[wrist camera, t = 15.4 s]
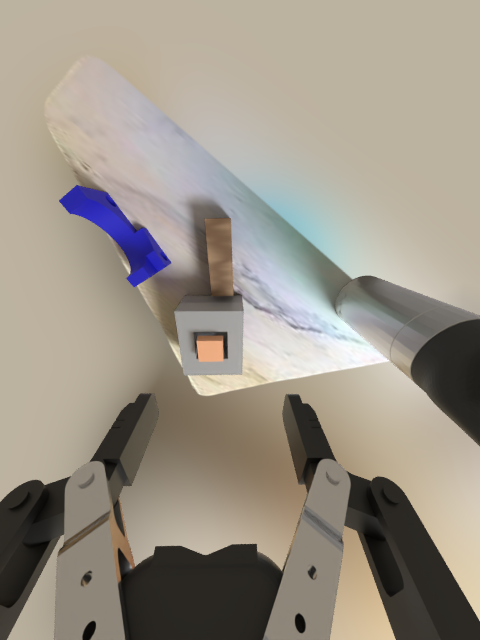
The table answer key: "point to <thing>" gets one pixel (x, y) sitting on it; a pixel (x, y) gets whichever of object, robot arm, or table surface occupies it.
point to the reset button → (210, 348)
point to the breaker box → (210, 332)
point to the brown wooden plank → (219, 255)
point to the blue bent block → (118, 231)
